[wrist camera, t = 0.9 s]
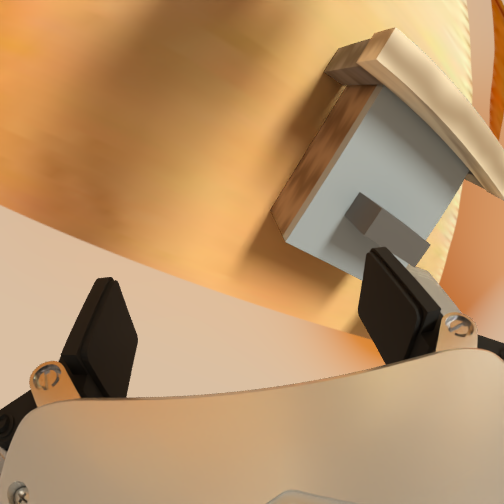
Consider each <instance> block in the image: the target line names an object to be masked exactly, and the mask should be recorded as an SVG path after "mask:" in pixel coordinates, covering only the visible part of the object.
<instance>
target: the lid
mask: <svg viewBox="0 0 504 504" xmlns="http://www.w3.org/2000/svg"><path fill="white" fill-rule="evenodd" d="M412 42H413V41H412ZM413 43H414V42H413ZM414 44H415V43H414ZM415 45H416V44H415ZM416 46H417V45H416ZM417 47H418V46H417ZM441 71H442V70H441ZM442 72H443V71H442ZM443 73H444V72H443ZM444 74H445V73H444ZM445 75H446V74H445ZM452 83H453V82H452ZM453 84H454V83H453ZM454 85H455V84H454ZM459 91H460V90H459ZM460 92H461V91H460ZM461 93H462V92H461ZM465 98H466V97H465ZM466 99H467V98H466ZM469 103H470V102H469ZM470 104H471V103H470ZM473 108H474V107H473ZM474 109H475V108H474ZM477 113H478V112H477ZM480 117H481V116H480ZM484 122H485V121H484ZM486 125H487V124H486ZM489 129H490V128H489ZM468 172H469V169H468V167H467V166H466V165H465V164H464V163H463V162H462V160H461V159H460V158H459V157H458V156H457V155H456V154H455V152H454V151H453V150H452V149H451V148H450V147H449V146H448V145H447V144H446V143H445V142H444V141H443V140H442V138H441V137H440V136H439V135H438V134H437V133H436V132H435V131H434V130H433V129H432V128H431V127H430V126H429V125H428V124H427V123H426V122H425V121H424V120H423V119H422V118H421V117H420V116H419V115H417V114H416V113H415V112H414V111H413V110H412V109H411V108H410V107H409V106H408V105H407V104H406V103H405V102H403V101H402V100H401V99H400V98H399V97H398V96H397V95H395V94H394V93H393V92H392V91H391V90H390V89H388V88H387V87H386V86H385V85H377V86H376V88H375V89H374V91H373V93H372V94H371V96H370V97H369V99H368V101H367V102H366V104H365V106H364V107H363V109H362V111H361V112H360V114H359V115H358V117H357V119H356V120H355V122H354V123H353V125H352V127H351V128H350V130H349V132H348V133H347V135H346V136H345V138H344V140H343V141H342V143H341V144H340V146H339V148H338V149H337V151H336V152H335V154H334V156H333V157H332V159H331V160H330V162H329V164H328V165H327V167H326V168H325V170H324V172H323V173H322V175H321V176H320V178H319V180H318V181H317V183H316V184H315V186H314V187H313V189H312V191H311V192H310V194H309V195H308V197H307V198H306V200H305V202H304V203H303V205H302V206H301V208H300V209H299V211H298V213H297V214H296V216H295V217H294V219H293V220H292V222H291V224H290V225H289V227H288V228H287V230H286V231H285V233H284V234H283V238H284V240H285V242H286V243H288V244H290V245H292V246H294V247H296V248H298V249H300V250H302V251H305V252H307V253H309V254H311V255H313V256H315V257H317V258H319V259H321V260H323V261H325V262H327V263H329V264H331V265H333V266H335V267H337V268H338V269H340V270H342V271H344V272H346V273H348V274H350V275H352V276H354V277H356V278H358V279H360V280H363V273H364V266H365V258H366V254H367V253H368V252H370V250H371V249H372V248H378V247H386V248H388V249H389V251H390V252H391V253H392V254H393V255H394V256H395V257H396V258H397V259H398V260H399V261H400V262H401V263H402V264H403V266H404V267H405V268H406V267H407V266H408V264H410V265H411V266H413V267H415V266H416V265H417V263H418V262H419V261H420V259H421V258H422V256H423V255H424V254H425V252H426V251H427V249H428V248H429V246H430V244H429V243H428V242H427V241H425V240H426V239H427V237H428V236H429V235H430V233H431V232H432V230H433V229H434V227H435V226H436V224H437V223H438V221H439V219H440V218H441V216H442V215H443V213H444V212H445V210H446V209H447V207H448V205H449V204H450V202H451V201H452V199H453V197H454V196H455V194H456V192H457V191H458V189H459V187H460V186H461V184H462V182H463V180H464V179H465V177H466V175H467V174H468Z"/></svg>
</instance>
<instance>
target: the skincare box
mask: <svg viewBox="0 0 504 504" xmlns="http://www.w3.org/2000/svg"><path fill="white" fill-rule="evenodd" d="M406 269H407V270H408V271H409V272H410V273H411V274H412V275H413V277H414V278H415V279H416V280H417V281H418V282H419V283H420V284H421V286H422V287H423V288H424V289H425V290H426V291H427V292H428V294H429V295H430V296H431V297H432V298H433V299H434V301H435V302H436V303H437V304H438V305H439V306H440V308H441V311H440V312H441V313H442V314H443V316H444V315H446V314H448V313H451V312H457V313H461V312H460V310H459V309H458V308H457V306H456V305H455V304H454V303H453V301H452V300H451V299H450V298H449V296H448V295H447V294H446V293H445V291H444V290H443V289H442V288H441V286H440V285H439V284H438V283H437V281H436V280H435V279H434V278H433V277H432V275H431V274H430V273H429V272H428V271H426V270H423V269H421V268H418V267H413V266H411V265H409V264H408V266H407V267H406Z"/></svg>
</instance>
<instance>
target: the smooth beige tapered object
mask: <svg viewBox="0 0 504 504" xmlns="http://www.w3.org/2000/svg"><path fill="white" fill-rule="evenodd" d="M356 63H357V64H358V65H360V66H361V67H362V68H364V69H365V70H366V71H368V72H369V73H370V74H371V75H373V76H374V77H375V78H376V79H378V80H379V81H380V82H381V83H382V84H384V85H385V86H386V87H387V88H388V89H390V90H391V91H392V92H393V93H394V94H395V95H397V96H398V97H399V98H400V99H401V100H402V101H403V102H405V103H406V104H407V105H408V106H409V107H410V108H411V109H412V110H413V111H414V112H415V113H416V114H417V115H419V116H420V117H421V118H422V119H423V120H424V121H425V122H426V123H427V124H428V125H429V126H430V127H431V128H432V129H433V130H434V131H435V132H436V133H437V134H438V135H439V136H440V137H441V138H442V140H443V141H444V142H445V143H446V144H447V145H448V146H449V147H450V148H451V149H452V150H453V151H454V152H455V154H456V155H457V156H458V157H459V158H460V159H461V160H462V162H463V163H464V164H465V165H466V166H467V167H468V169H469V170H470V171H471V172H472V173H473V175H474V176H475V177H476V178H477V180H478V181H479V182H480V183H481V185H482V186H483V187H484V188H485V190H486V191H487V192H489V193H491V194H493V195H495V196H496V197H498V198H500V199H502V200H504V149H503V147H502V146H501V144H500V143H499V142H498V140H497V139H496V137H495V136H494V134H493V133H492V131H491V130H490V129H489V127H488V126H487V125H486V123H485V122H484V120H483V119H482V118H481V117H480V115H479V114H478V113H477V111H476V110H475V109H474V108H473V106H472V105H471V104H470V103H469V101H468V100H467V99H466V98H465V96H464V95H463V94H462V93H461V92H460V91H459V89H458V88H457V87H456V86H455V85H454V84H453V83H452V81H451V80H450V79H449V78H448V77H447V76H446V75H445V74H444V73H443V72H442V71H441V69H440V68H439V67H438V66H437V65H436V64H435V63H434V62H433V61H432V60H431V59H430V58H429V57H428V56H427V55H426V54H425V53H424V52H423V51H422V50H421V49H420V48H419V47H417V46H416V45H415V44H414V43H413V42H412V41H411V40H410V39H409V38H408V37H407V36H405V35H404V34H403V33H402V32H401V31H400V30H399V29H397V28H396V27H395V28H391V29H388V30H384V31H381V32H377V33H374V35H373V36H372V38H371V40H370V41H369V43H368V44H367V46H366V47H365V49H364V51H363V52H362V54H361V55H360V57H359V59H358V60H357V62H356Z"/></svg>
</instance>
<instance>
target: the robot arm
mask: <svg viewBox="0 0 504 504" xmlns="http://www.w3.org/2000/svg"><path fill="white" fill-rule="evenodd" d="M440 311H441V308H440V306H439V305H438V304H437V303H436V302H435V301H434V299H433V298H432V297H431V296H430V295H429V294H428V292H427V291H426V290H425V289H424V288H423V287H422V286H421V284H420V283H419V282H418V281H417V280H416V279H415V278H414V277H413V275H412V274H411V273H410V272H409V271H408V270H407V269H406V268H405V267H404V266H403V264H402V263H401V262H400V261H399V260H398V259H397V258H396V257H395V256H394V255H393V254H392V253H391V252H390V251H389V249H388V248H386V247H378V248H372V249H371V250H370V252H368V253H367V254H366V258H365V266H364V273H363V280H362V287H361V293H360V299H359V305H358V314H359V317H360V319H361V320H362V322H363V324H364V326H365V327H366V329H367V331H368V333H369V335H370V336H371V338H372V340H373V342H374V343H375V345H376V347H377V349H378V351H379V353H380V355H381V356H382V358H383V360H384V362H385V364H386V365H383V366H379V367H375V368H371V369H367V370H362V371H358V372H353V373H349V374H345V375H339V376H335V377H329V378H324V379H319V380H314V381H308V382H302V383H297V384H290V385H283V386H277V387H270V388H262V389H255V390H247V391H237V392H227V393H217V394H205V395H190V396H172V397H138V398H126V396H127V391H128V386H129V381H130V376H131V371H132V366H133V361H134V357H135V352H136V348H137V343H138V338H137V333H136V331H135V328H134V325H133V323H132V320H131V317H130V315H129V312H128V309H127V306H126V303H125V301H124V298H123V295H122V292H121V289H120V286H119V283H118V281H116V280H115V281H114V280H113V278H112V277H107V278H98V279H97V280H96V281H95V283H94V285H93V287H92V289H91V291H90V293H89V295H88V297H87V299H86V301H85V303H84V305H83V307H82V309H81V311H80V313H79V315H78V317H77V320H76V322H75V324H74V326H73V328H72V331H71V332H70V335H69V337H68V339H67V342H66V344H65V346H64V348H63V351H62V353H61V357H60V360H59V362H57V361H49V362H45V363H43V364H41V365H39V366H38V367H37V368H36V369H35V370H34V371H33V372H32V374H31V376H30V381H29V384H30V388H31V390H29V391H28V392H26V393H25V394H23V395H22V396H20V397H19V398H18V399H16V400H14V401H13V402H11V403H10V404H8V405H7V406H5V407H4V408H2V409H1V410H0V504H504V343H501V342H498V341H495V340H492V339H489V338H486V337H483V336H480V335H478V329H477V325H476V323H475V322H474V321H473V320H472V319H471V318H470V317H468V316H467V315H465V314H462V313H457V312H451V313H448V314H446V315H444V316H443V314H442V313H441V312H440Z"/></svg>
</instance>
